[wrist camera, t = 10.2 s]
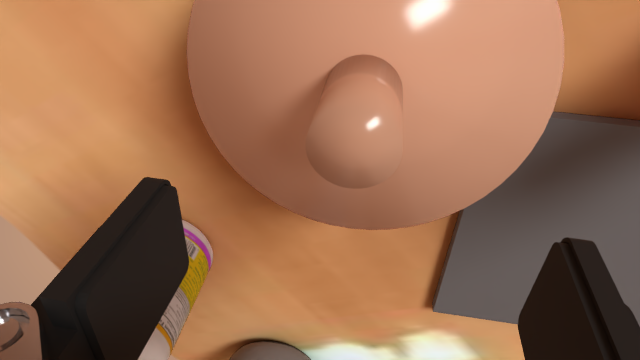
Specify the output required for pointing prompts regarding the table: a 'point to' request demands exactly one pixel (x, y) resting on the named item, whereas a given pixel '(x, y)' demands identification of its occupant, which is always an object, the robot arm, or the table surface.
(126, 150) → the table surface
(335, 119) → the lid
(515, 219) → the mat
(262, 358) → the smart speaker
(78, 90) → the table surface
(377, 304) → the table surface
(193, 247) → the supplement bottle
